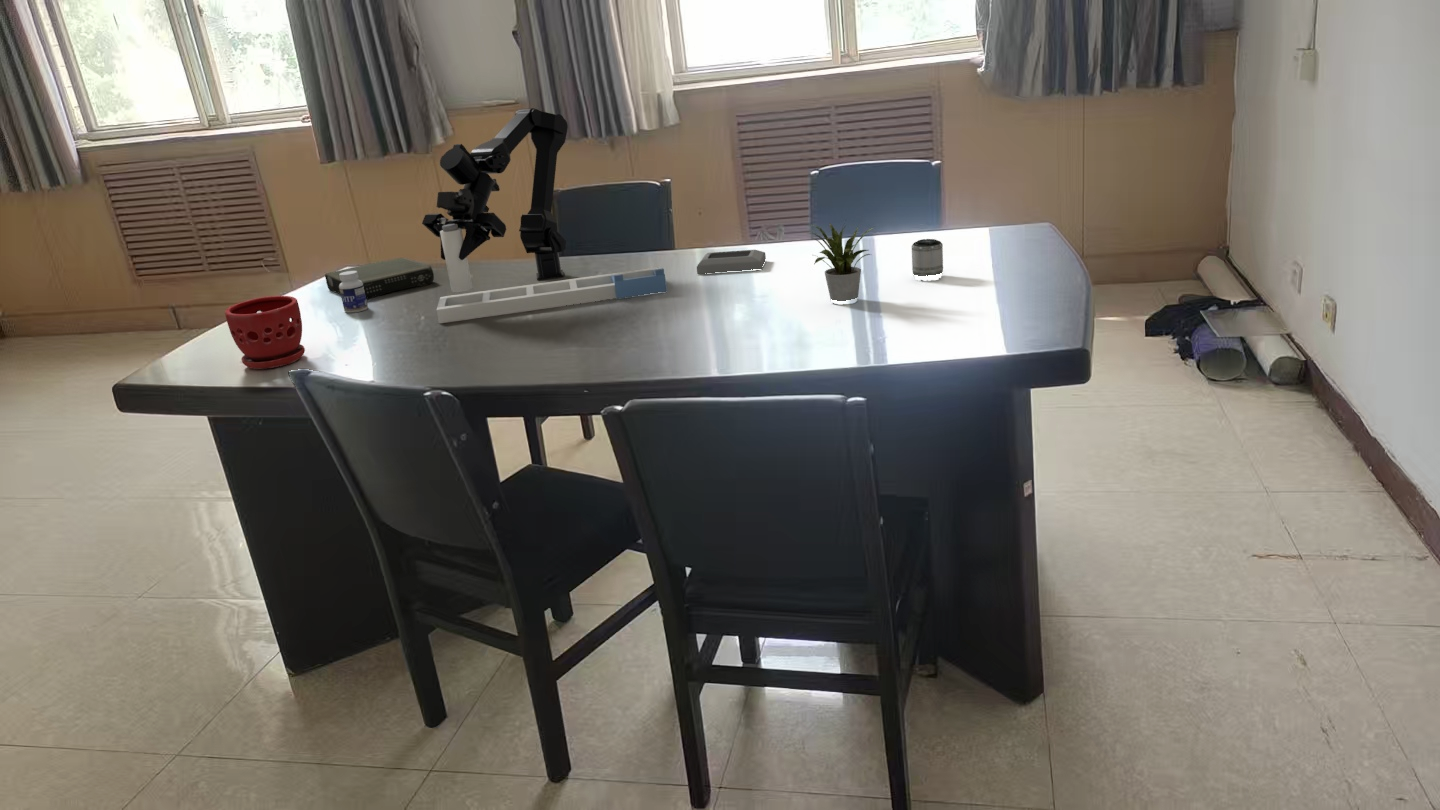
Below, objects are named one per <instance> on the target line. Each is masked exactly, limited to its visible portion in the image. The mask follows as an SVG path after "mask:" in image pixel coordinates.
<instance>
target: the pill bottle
mask: <svg viewBox="0 0 1440 810" xmlns="http://www.w3.org/2000/svg"><path fill="white" fill-rule="evenodd" d="M339 276H340V280H341V281H342V283H340V285H339V289H340V293H341V294H340V298H341V302H342V306H343V310H344V312H345V313H348V314H355V313H359V312H363V311H366V310H367V309H369V305H368V301H367V300H368V299H366V295H365V291H364V286H363V283H362V281H360V280H358V272H357V271H347V272H343V273H340V274H339Z"/></svg>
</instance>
